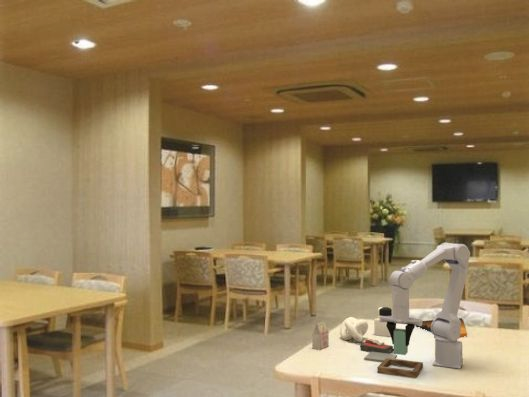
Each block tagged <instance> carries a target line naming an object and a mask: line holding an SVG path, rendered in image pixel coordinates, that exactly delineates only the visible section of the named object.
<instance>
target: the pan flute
mask: <svg viewBox="0 0 529 397" xmlns="http://www.w3.org/2000/svg"><path fill="white" fill-rule="evenodd" d="M458 318H459V317H458ZM459 320H460V321H461V326H460V328H461V334H460V337H459V338H465V337H464V336H466V337H467V334H468V333H467V332H468V331H467V328H466V325H465V322H464V319H463V318H462V317H460V318H459ZM433 321H434V319H433V320H432V319H431V320H422V326H418V325H415V327H416V328H418V327H420V328H419V329H421V328H422V329H421V330H424V329H425V330H424V331H426V330H427V332H430V333H432V332H431V324H432V322H433ZM447 322H449V321H447Z"/></svg>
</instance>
